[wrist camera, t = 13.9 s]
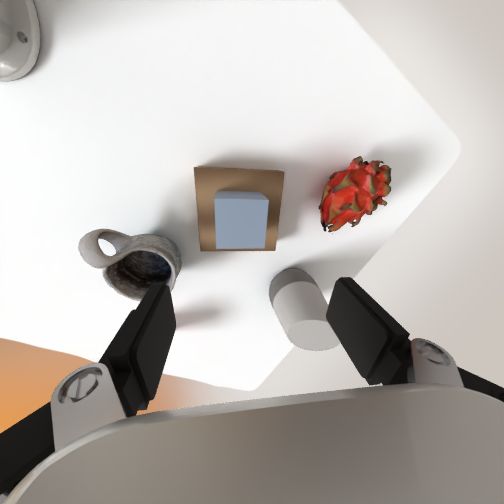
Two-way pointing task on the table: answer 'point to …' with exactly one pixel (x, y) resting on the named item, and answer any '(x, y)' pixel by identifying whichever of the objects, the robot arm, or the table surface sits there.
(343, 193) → the dragon fruit
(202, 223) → the walnut block
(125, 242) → the mug
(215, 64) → the table surface
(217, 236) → the slate cube
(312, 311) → the smart speaker
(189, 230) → the table surface
